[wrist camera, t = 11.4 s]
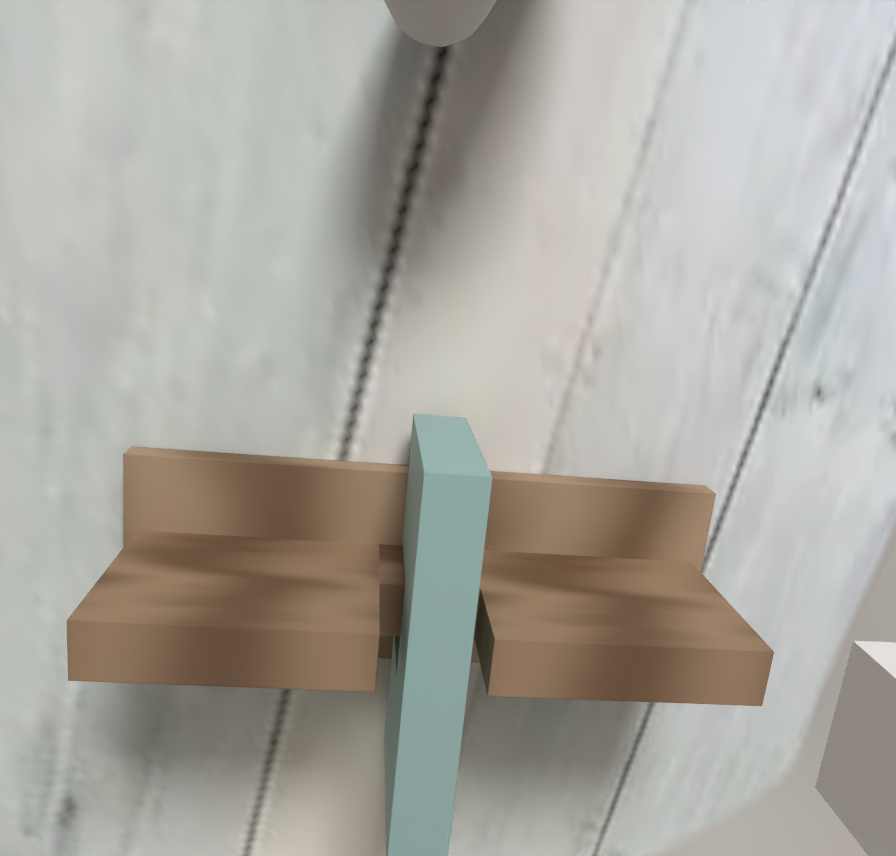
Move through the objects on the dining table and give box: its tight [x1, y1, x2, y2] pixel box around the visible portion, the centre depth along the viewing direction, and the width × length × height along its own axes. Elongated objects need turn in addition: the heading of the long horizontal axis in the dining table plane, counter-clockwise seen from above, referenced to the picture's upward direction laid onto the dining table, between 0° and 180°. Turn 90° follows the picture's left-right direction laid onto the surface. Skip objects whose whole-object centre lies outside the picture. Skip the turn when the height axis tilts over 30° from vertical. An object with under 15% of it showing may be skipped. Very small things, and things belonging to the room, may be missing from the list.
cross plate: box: [385, 414, 492, 856], centre depth 28 cm, size 14×2×7 cm, turn 174°
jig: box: [67, 447, 774, 706], centre depth 28 cm, size 23×8×8 cm, turn 84°
